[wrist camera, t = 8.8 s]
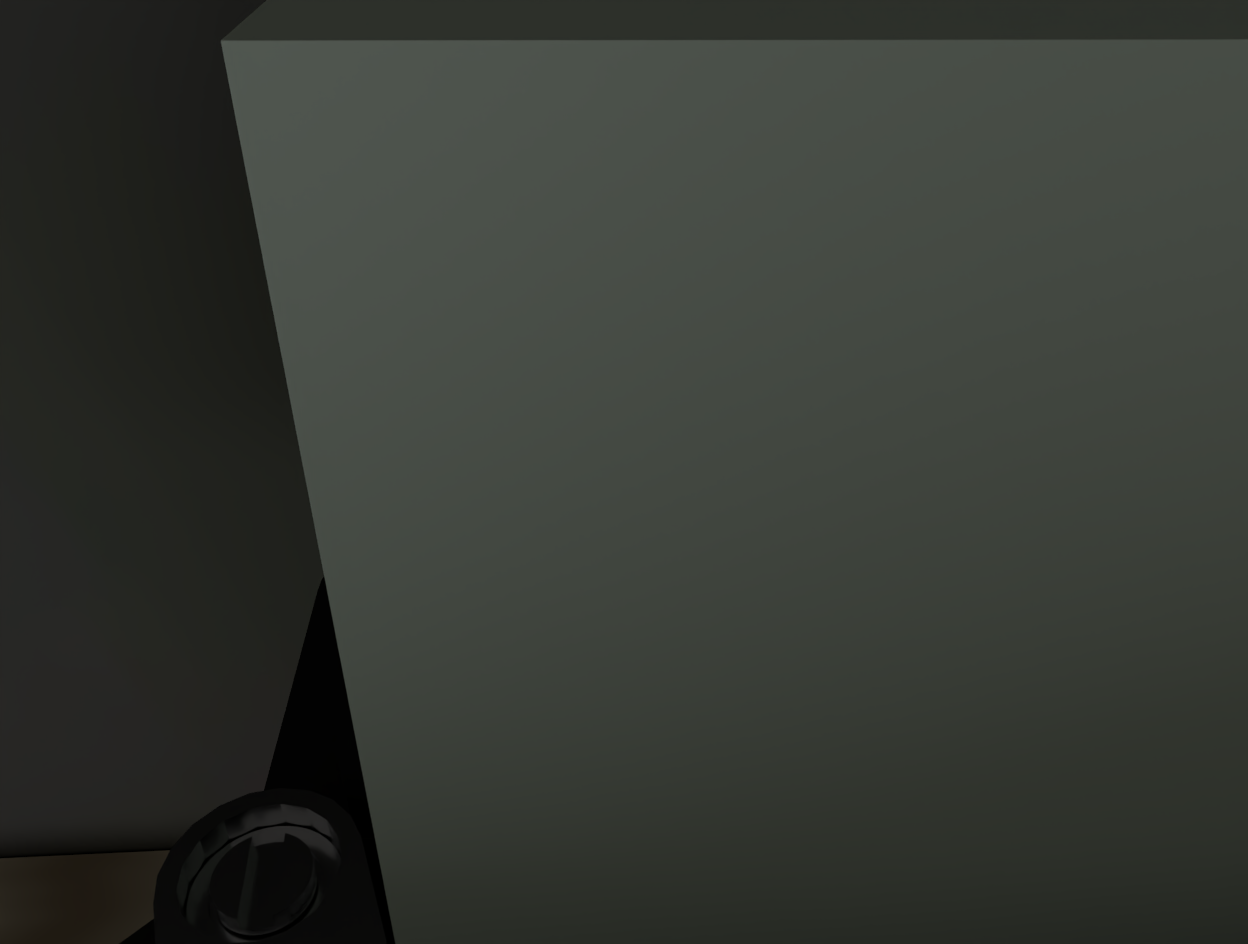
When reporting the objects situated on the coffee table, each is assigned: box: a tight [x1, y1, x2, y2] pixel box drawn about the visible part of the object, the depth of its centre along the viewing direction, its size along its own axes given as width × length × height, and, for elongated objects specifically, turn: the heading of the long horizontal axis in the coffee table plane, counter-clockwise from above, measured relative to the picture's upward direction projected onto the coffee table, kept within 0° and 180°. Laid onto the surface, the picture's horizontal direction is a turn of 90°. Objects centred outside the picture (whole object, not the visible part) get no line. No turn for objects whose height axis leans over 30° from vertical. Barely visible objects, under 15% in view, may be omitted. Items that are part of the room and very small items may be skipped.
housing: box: [221, 0, 1248, 944], centre depth 9 cm, size 6×12×7 cm, turn 179°
